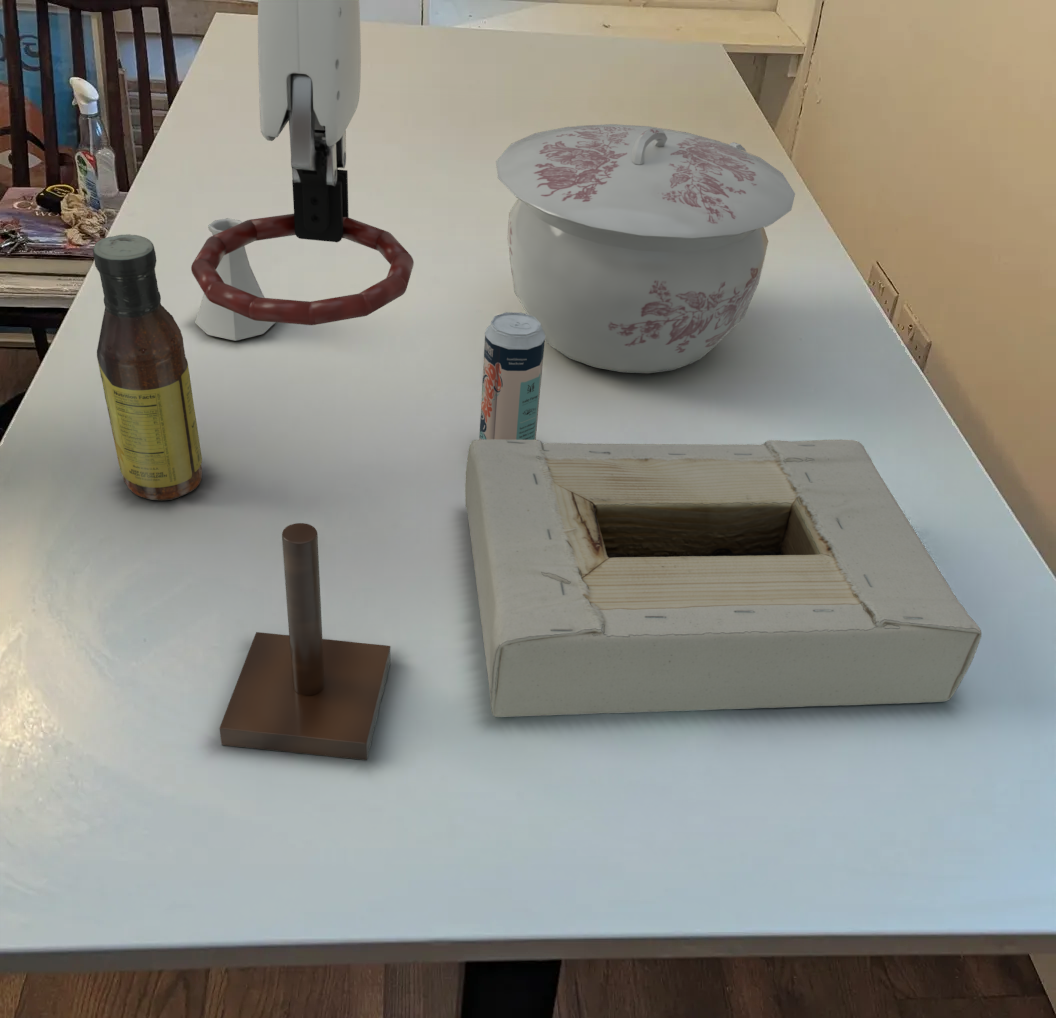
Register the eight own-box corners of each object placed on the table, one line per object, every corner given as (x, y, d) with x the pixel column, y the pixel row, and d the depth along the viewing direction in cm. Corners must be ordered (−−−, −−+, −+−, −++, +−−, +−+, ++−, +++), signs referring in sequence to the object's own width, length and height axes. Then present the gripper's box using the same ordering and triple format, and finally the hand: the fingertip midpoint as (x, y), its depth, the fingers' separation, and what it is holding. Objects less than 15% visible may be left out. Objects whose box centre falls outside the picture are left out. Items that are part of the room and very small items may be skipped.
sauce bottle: (158, 453, 97) (123, 216, 84) (220, 476, 95) (195, 237, 82) (102, 491, 92) (57, 247, 79) (167, 516, 90) (131, 270, 77)
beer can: (485, 433, 103) (493, 305, 95) (539, 443, 102) (551, 315, 95) (472, 462, 99) (479, 331, 91) (528, 472, 99) (539, 341, 91)
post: (221, 745, 72) (198, 572, 64) (257, 648, 79) (241, 481, 71) (366, 760, 72) (363, 590, 64) (390, 662, 79) (390, 496, 71)
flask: (181, 325, 114) (169, 224, 107) (236, 301, 119) (227, 203, 112) (235, 349, 111) (226, 247, 105) (289, 323, 116) (283, 225, 109)
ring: (169, 317, 72) (166, 296, 71) (226, 222, 82) (224, 203, 81) (395, 336, 72) (394, 316, 71) (423, 239, 82) (423, 220, 81)
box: (489, 729, 75) (958, 706, 80) (495, 637, 71) (993, 618, 75) (457, 520, 93) (842, 511, 98) (460, 435, 88) (865, 430, 93)
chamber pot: (506, 413, 106) (523, 183, 92) (470, 281, 126) (479, 77, 113) (802, 408, 110) (858, 188, 97) (720, 281, 131) (757, 86, 118)
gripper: (276, -97, 76) (291, 187, 88) (213, -47, 64) (240, 274, 76) (393, -86, 76) (392, 196, 88) (351, -34, 64) (357, 285, 76)
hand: (322, 231), depth 82 cm, fingers closed on ring, 1 cm apart
